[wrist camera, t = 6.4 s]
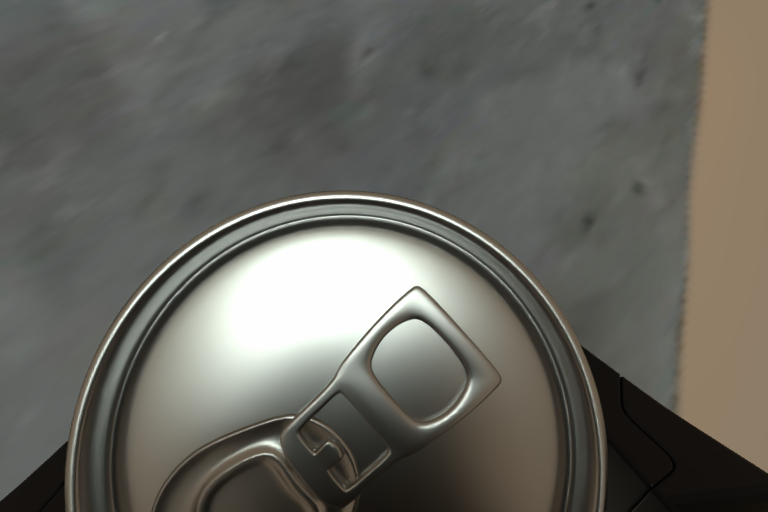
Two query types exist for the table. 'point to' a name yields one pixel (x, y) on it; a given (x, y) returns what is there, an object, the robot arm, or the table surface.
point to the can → (339, 374)
